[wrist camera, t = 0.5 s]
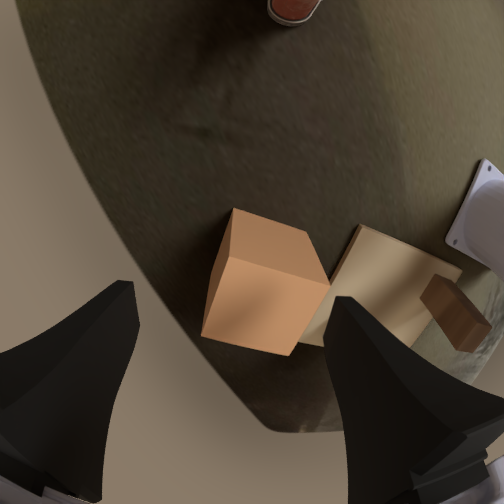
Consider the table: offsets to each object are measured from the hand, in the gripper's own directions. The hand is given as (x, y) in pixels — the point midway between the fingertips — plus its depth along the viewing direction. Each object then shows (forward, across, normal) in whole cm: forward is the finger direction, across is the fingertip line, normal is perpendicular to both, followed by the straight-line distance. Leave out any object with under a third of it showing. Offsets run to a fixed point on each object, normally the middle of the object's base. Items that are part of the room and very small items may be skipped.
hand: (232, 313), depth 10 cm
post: (+10, -18, +5) cm, 21 cm away
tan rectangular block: (+10, -2, +3) cm, 11 cm away
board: (+10, -13, +7) cm, 18 cm away
